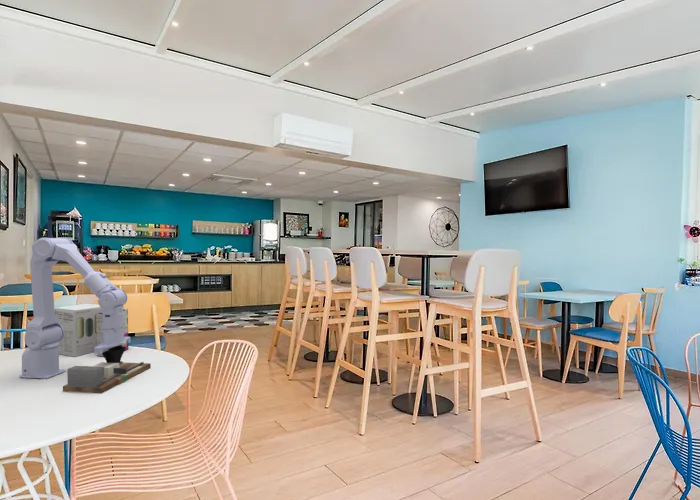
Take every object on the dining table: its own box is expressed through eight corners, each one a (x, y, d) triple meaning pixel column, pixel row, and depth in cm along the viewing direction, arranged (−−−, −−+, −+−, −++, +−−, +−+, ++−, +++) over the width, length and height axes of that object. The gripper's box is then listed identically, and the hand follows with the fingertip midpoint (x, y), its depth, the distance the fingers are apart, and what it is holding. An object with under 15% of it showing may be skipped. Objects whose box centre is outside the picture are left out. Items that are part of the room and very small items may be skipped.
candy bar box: (117, 349, 169) (117, 307, 168) (129, 349, 168) (128, 308, 167) (95, 356, 158) (95, 312, 157) (107, 357, 157) (107, 313, 156)
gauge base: (62, 391, 122) (62, 383, 122) (117, 366, 145) (117, 360, 145) (102, 393, 120) (102, 385, 120) (151, 367, 144) (151, 361, 144)
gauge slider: (85, 379, 126) (85, 369, 126) (101, 372, 133) (101, 362, 133) (116, 381, 125) (116, 370, 125) (131, 373, 132) (131, 363, 132)
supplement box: (74, 357, 156) (73, 310, 156) (52, 353, 162) (52, 307, 162) (108, 349, 168) (107, 305, 168) (87, 345, 174) (86, 302, 174)
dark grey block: (67, 386, 121) (67, 368, 121) (75, 382, 124) (75, 365, 124) (96, 387, 120) (96, 370, 120) (104, 384, 123) (104, 367, 123)
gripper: (109, 333, 126) (110, 378, 127) (139, 323, 141) (139, 364, 141) (87, 332, 127) (88, 377, 127) (119, 323, 142) (119, 363, 142)
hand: (113, 370), depth 134 cm, fingers closed
